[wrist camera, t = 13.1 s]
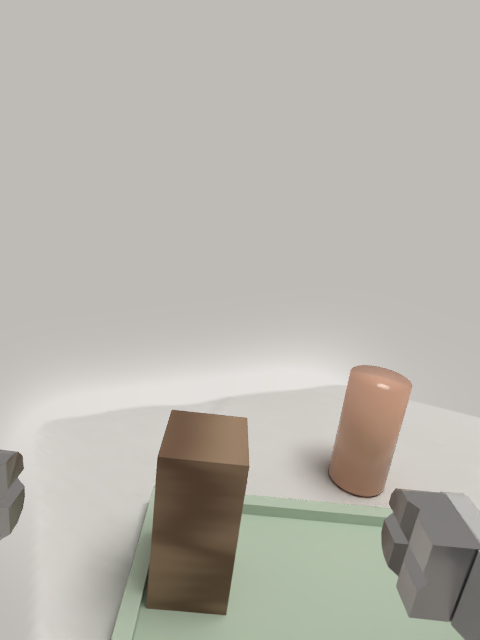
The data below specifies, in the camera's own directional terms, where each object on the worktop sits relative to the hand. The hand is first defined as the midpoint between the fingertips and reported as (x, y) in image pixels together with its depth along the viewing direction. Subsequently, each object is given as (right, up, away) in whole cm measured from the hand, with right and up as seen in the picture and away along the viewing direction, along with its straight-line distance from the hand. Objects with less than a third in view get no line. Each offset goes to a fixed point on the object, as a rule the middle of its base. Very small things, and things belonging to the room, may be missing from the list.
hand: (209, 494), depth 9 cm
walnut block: (-2, -12, +16) cm, 20 cm away
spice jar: (+11, -10, +28) cm, 32 cm away
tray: (+5, -13, +17) cm, 22 cm away
